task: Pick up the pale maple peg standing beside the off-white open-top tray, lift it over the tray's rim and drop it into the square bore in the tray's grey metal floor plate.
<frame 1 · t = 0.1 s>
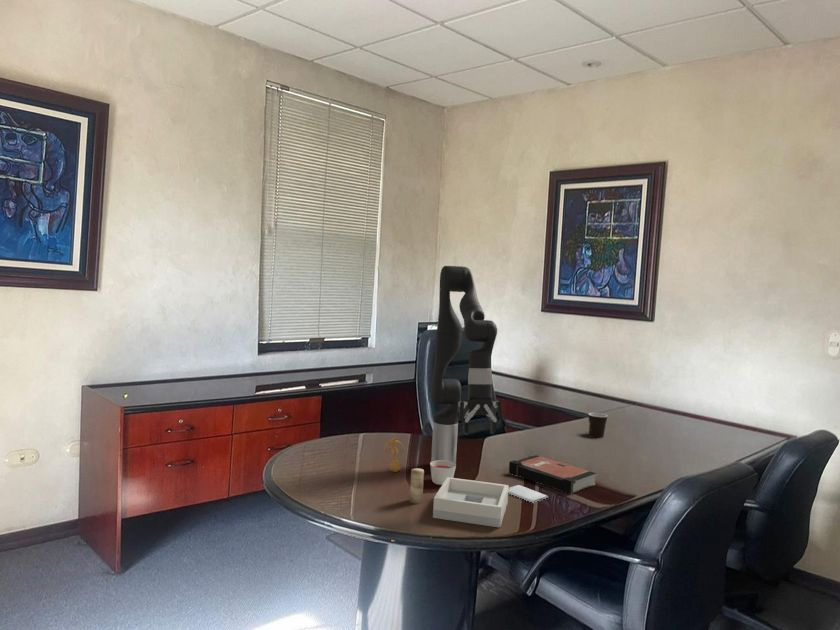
hand: (479, 434, 198), 22 cm above the table, tool pointing down, fingers open, 8 cm apart
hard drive: (525, 497, 209), on the table
figurine: (393, 471, 227), on the table
white cup: (442, 482, 218), on the table
peg: (416, 501, 199), on the table
book: (552, 480, 227), on the table
tray: (471, 510, 193), on the table
coffee mug: (597, 435, 294), on the table
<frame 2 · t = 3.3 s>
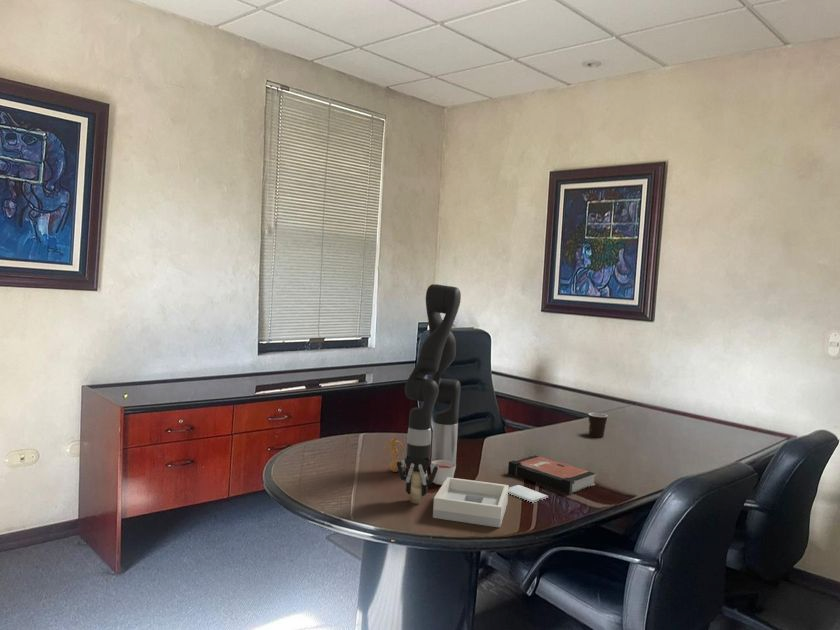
hand: (416, 494, 198), 2 cm above the table, tool pointing down, fingers closed on peg, 4 cm apart
peg: (416, 501, 199), on the table, touching gripper
everything else where it was.
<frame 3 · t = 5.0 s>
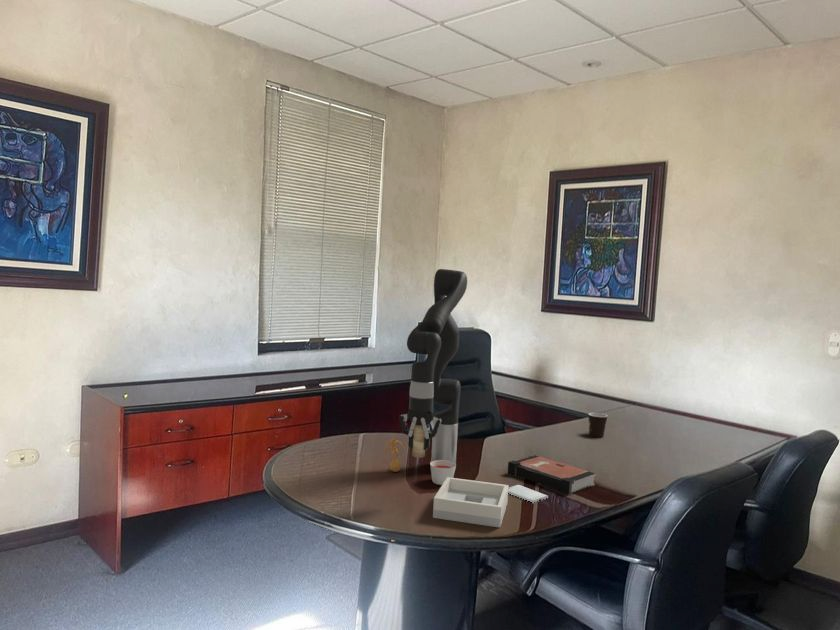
hand: (418, 448, 197), 17 cm above the table, tool pointing down, fingers closed on peg, 4 cm apart
peg: (418, 455, 198), point 15 cm above the table, touching gripper
everything else where it was.
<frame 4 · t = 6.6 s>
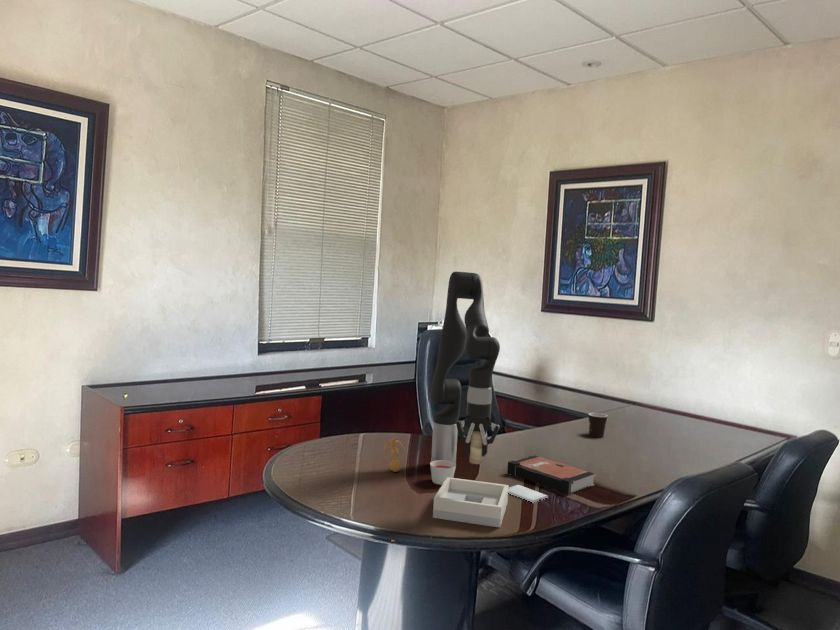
hand: (476, 454, 195), 17 cm above the table, tool pointing down, fingers closed on peg, 4 cm apart
peg: (475, 462, 195), point 14 cm above the table, touching gripper
everything else where it was.
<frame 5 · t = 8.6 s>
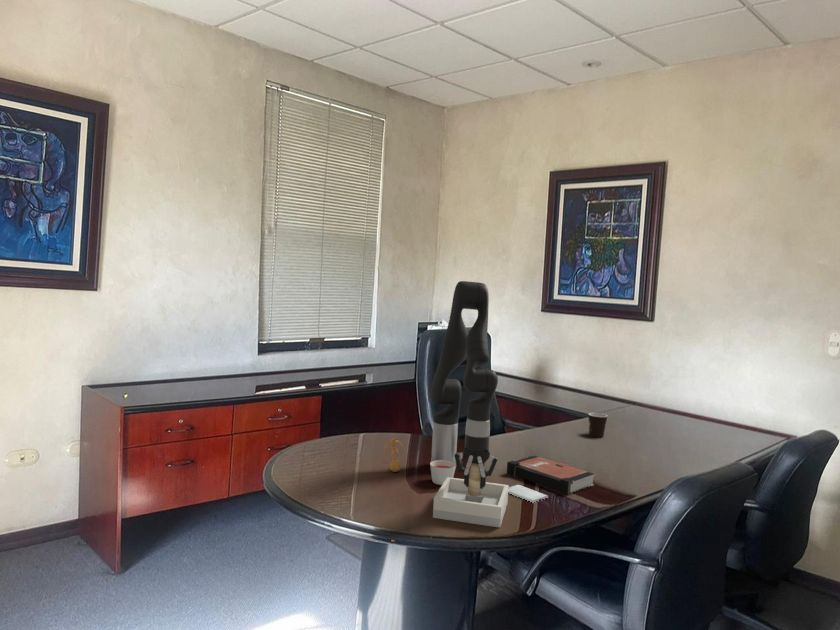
hand: (474, 486, 196), 6 cm above the table, tool pointing down, fingers closed on peg, 4 cm apart
peg: (474, 493, 196), point 4 cm above the table, touching gripper
when the fingers open (4 cm above the table, at t = 10.1 s): peg drops 2 cm, resting in tray.
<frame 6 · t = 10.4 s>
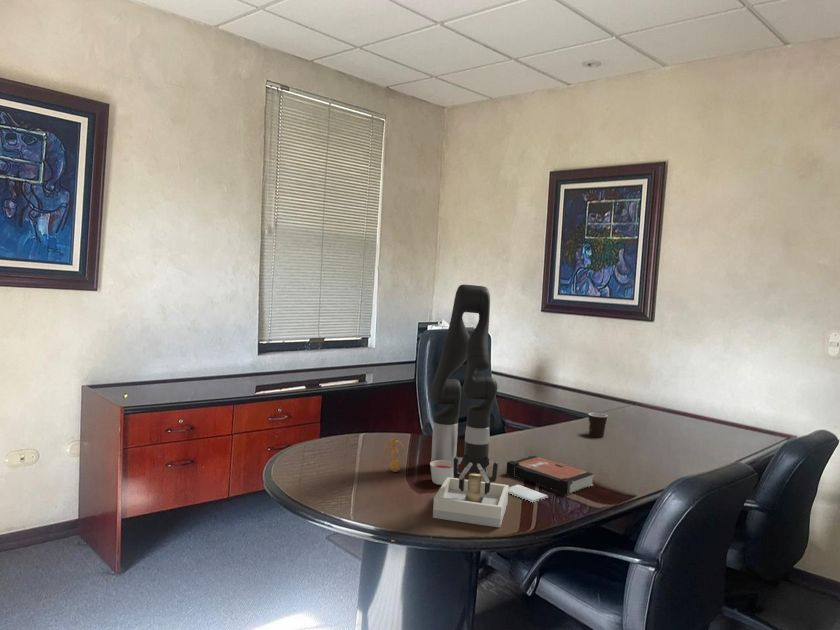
hand: (474, 491, 196), 5 cm above the table, tool pointing down, fingers open, 7 cm apart
peg: (473, 506, 196), resting in tray
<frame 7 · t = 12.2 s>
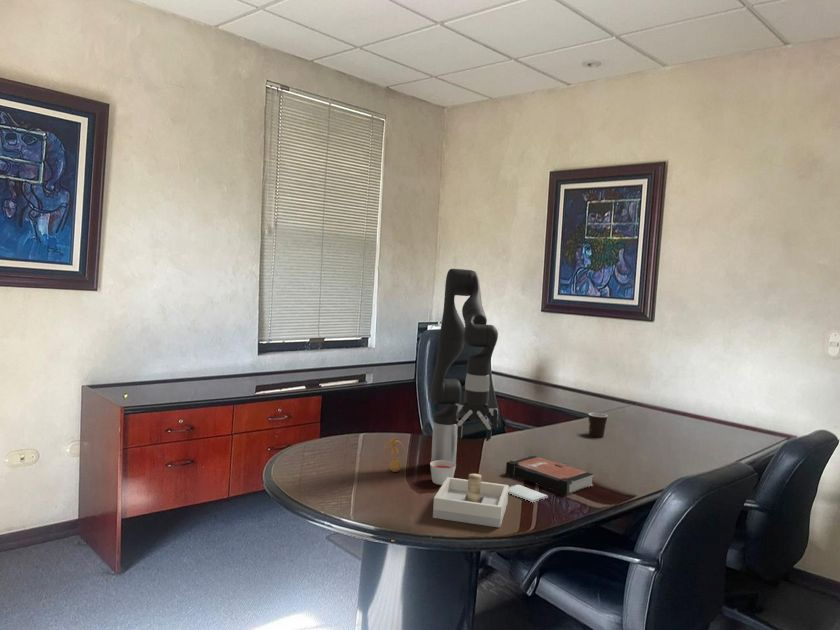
hand: (473, 438, 196), 21 cm above the table, tool pointing down, fingers open, 8 cm apart
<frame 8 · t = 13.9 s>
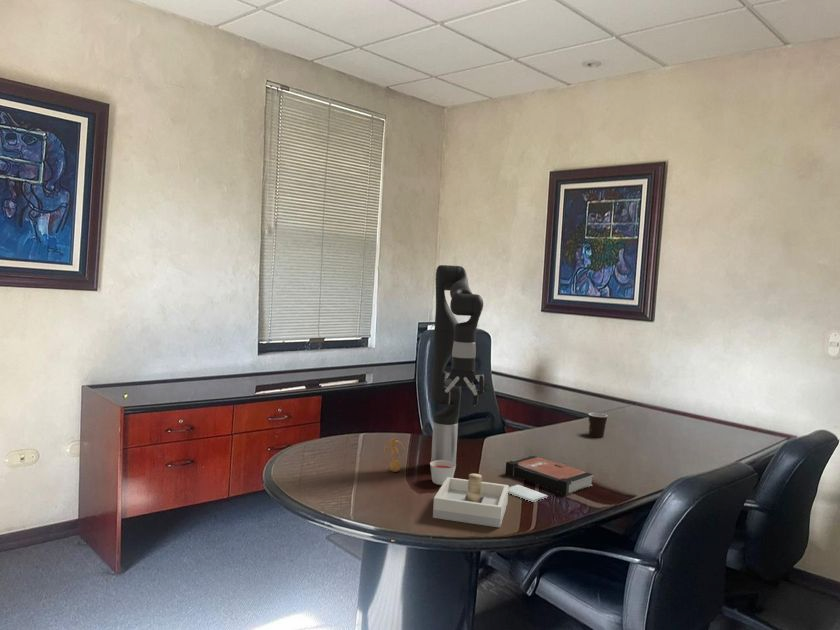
hand: (461, 404, 203), 30 cm above the table, tool pointing down, fingers open, 8 cm apart
at the end: peg 0.0 cm from the target spot on the tray, point 0.0 cm above the tray's base; peg tilted 1°; the gripper is holding nothing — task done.
